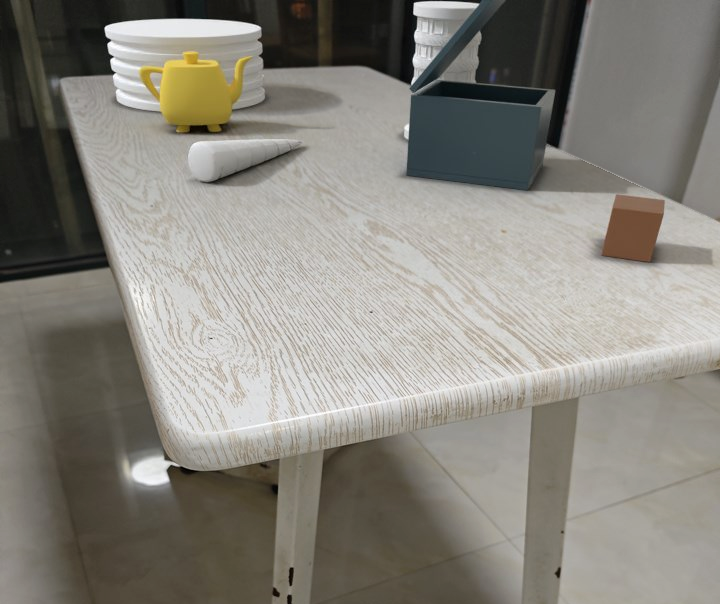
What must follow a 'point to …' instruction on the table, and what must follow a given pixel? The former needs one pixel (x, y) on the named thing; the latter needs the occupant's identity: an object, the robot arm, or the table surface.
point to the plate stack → (169, 41)
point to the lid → (457, 43)
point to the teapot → (195, 91)
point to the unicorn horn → (233, 155)
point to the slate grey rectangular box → (478, 133)
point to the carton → (633, 227)
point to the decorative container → (443, 40)
